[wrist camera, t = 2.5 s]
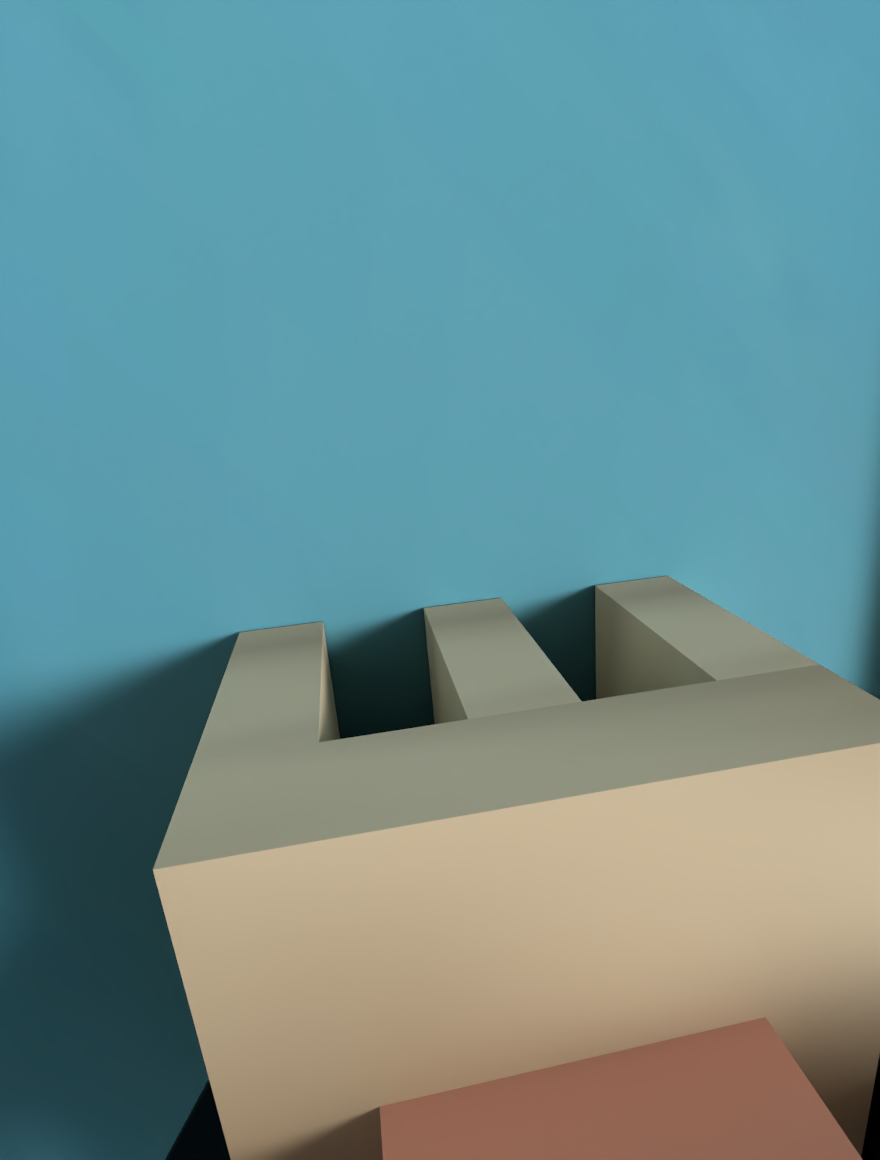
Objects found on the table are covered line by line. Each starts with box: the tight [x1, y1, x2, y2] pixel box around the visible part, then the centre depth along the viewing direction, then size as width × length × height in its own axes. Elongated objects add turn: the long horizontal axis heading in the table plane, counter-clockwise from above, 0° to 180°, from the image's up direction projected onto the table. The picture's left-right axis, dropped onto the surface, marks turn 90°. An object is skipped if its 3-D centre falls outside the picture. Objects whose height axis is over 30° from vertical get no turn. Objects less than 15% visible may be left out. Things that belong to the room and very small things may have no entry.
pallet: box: [153, 576, 880, 1160], centre depth 8 cm, size 9×6×4 cm, turn 5°
